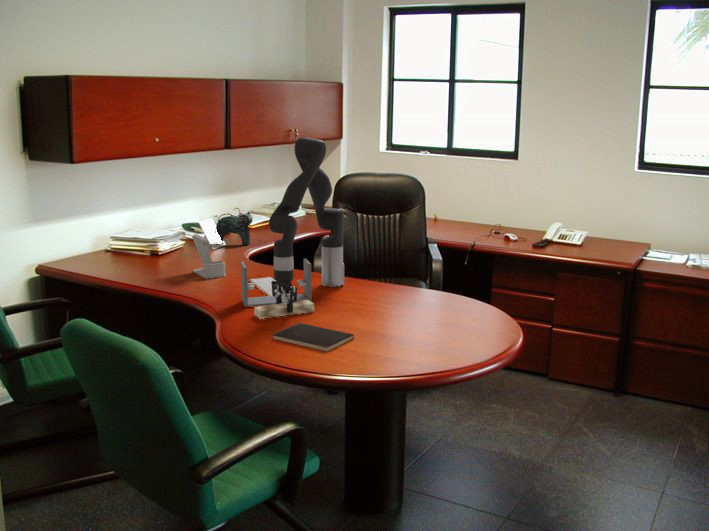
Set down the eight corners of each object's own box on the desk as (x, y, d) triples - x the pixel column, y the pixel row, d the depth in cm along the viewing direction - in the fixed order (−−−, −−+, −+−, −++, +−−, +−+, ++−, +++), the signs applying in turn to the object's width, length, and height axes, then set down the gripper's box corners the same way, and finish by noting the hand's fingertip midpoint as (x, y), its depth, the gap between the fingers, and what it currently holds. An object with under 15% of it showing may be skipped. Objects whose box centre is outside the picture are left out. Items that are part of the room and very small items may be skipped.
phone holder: (227, 276, 348) (226, 237, 344) (206, 279, 343) (204, 239, 339) (212, 268, 362) (210, 230, 358) (191, 271, 357) (190, 233, 353)
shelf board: (307, 308, 301) (307, 299, 300) (314, 312, 295) (314, 303, 295) (254, 315, 291) (254, 307, 290) (260, 320, 285) (260, 311, 285)
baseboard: (265, 301, 312) (293, 298, 316) (265, 294, 311) (293, 291, 316) (244, 282, 339) (270, 280, 344) (244, 276, 338) (270, 273, 343)
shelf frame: (306, 296, 316) (306, 258, 312) (311, 303, 306) (311, 264, 303) (242, 300, 310) (240, 262, 306) (244, 307, 300) (243, 267, 296)
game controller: (253, 244, 415) (252, 207, 411) (249, 246, 409) (248, 209, 404) (218, 242, 419) (217, 206, 414) (214, 245, 413) (212, 208, 408)
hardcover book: (327, 353, 253) (327, 346, 252) (272, 340, 265) (272, 334, 264) (353, 340, 266) (354, 333, 265) (300, 328, 278) (300, 322, 277)
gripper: (264, 265, 292) (265, 307, 296) (286, 272, 281) (287, 316, 285) (281, 262, 296) (282, 304, 300) (303, 269, 286) (303, 312, 289)
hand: (284, 310), depth 293 cm, fingers closed on shelf board, 6 cm apart
